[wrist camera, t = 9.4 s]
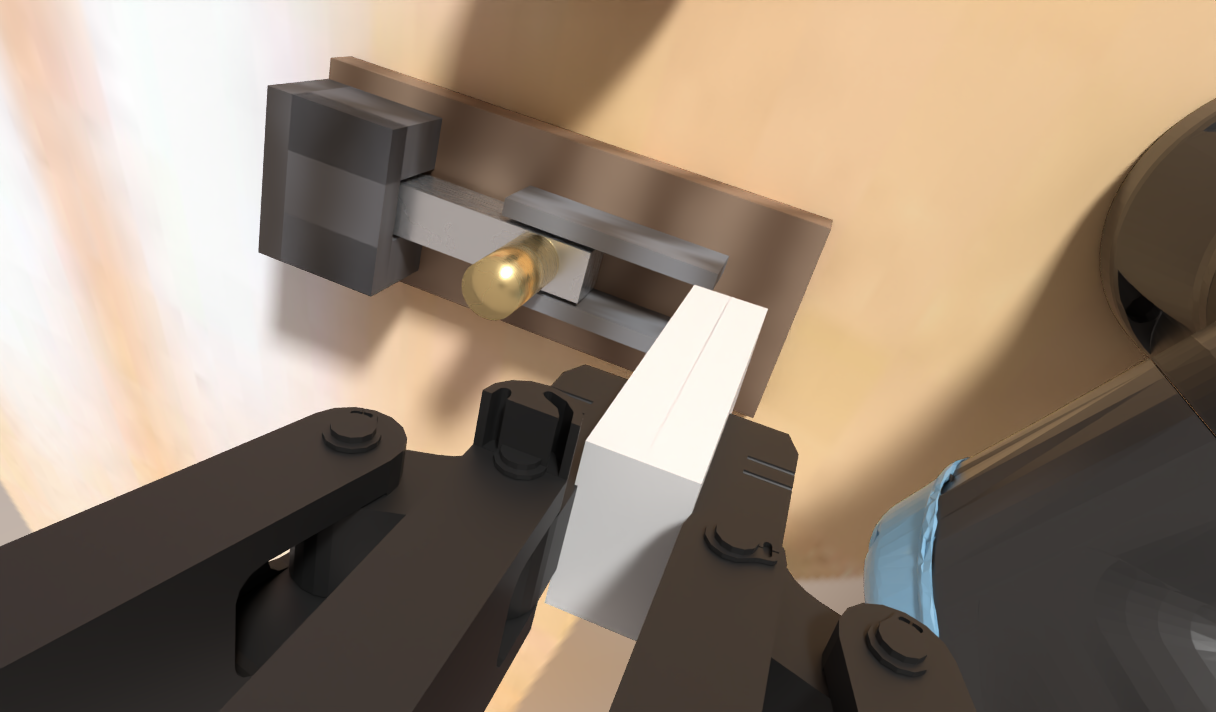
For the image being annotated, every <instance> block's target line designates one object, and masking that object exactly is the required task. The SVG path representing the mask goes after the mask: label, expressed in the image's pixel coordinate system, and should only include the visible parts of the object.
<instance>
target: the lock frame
mask: <svg viewBox="0 0 1216 712" xmlns="http://www.w3.org/2000/svg"><path fill="white" fill-rule="evenodd" d="M421 173H425V174H427V175H430V176H433V177H436V178H439V179H441V180H444V181H447V182H450V183H452V184H455V185H458V186H461V187H464V188H466V189H469V190H472V191H475V192H477V193H480V194H483V195H486V196H488V197H491V198H494V199H497V200H500V201H502V202H504V206H503V211H502V216H505V217H508V218H510V219H513V220H516V221H519V222H521V223H524V224H527V225H530V226H532V227H535V228H538V229H541V230H543V231H546V232H549V233H552V234H554V235H557V236H560V237H563V238H565V239H568V240H571V241H574V242H576V243H579V244H582V245H585V246H587V247H590V248H593V249H596V250H598V251H601V252H604V253H603V257H602V261H601V264H600V268H599V272H598V275H597V279H596V282H595V286H594V288H593V289H592V290H591V291H590V292H589V293H588V294H587V295H586V296H585V297H584V298H582V299H581V300H580V301H579V302H578V303H574V302H572V301H569V300H566V299H564V298H561V297H558V296H556V295H553V294H550V293H548V292H545V291H542V290H540V291H539V292H537V293H536V294H535V295H534V296H532V297H531V298H530V299H529V300H528V301H526V302H525V303H524V304H523V305H521V306H520V307H519V308H518V309H517V310H515V311H514V312H513V313H512V314H510V315H509V316H508V317H506V318H504V319H501V321H504V322H506V323H509V324H511V325H514V326H517V327H519V328H522V329H524V330H527V331H530V332H532V333H535V334H537V335H540V336H542V337H545V338H548V339H550V340H553V341H555V342H558V343H560V344H563V345H566V346H568V347H571V348H573V349H576V350H579V351H581V352H584V353H586V354H589V355H591V356H594V357H597V358H599V359H602V360H604V361H607V362H610V363H612V364H615V365H617V366H620V367H622V368H625V369H628V370H630V371H633V372H634V371H635V369H636V368H637V366H638V365H639V364H640V362H641V361H642V359H643V358H644V356H645V355H646V354H647V352H648V351H649V349H650V348H651V346H652V345H653V344H654V342H655V341H656V339H657V338H658V336H659V335H660V334H661V332H662V331H663V329H664V328H665V326H666V325H667V323H668V322H669V321H670V319H671V318H672V316H673V315H674V313H675V312H676V311H677V309H678V308H679V306H680V305H681V303H682V302H683V301H684V299H685V298H686V296H687V295H688V293H689V292H690V291H691V289H692V288H693V286H694V285H697V286H700V287H703V288H706V289H709V290H712V291H715V292H718V293H721V294H724V295H727V296H730V297H733V298H736V299H739V300H743V301H746V302H749V303H752V304H755V305H758V306H761V307H764V308H767V309H768V310H767V313H766V316H765V319H764V322H763V325H762V328H761V331H760V333H759V336H758V339H757V342H756V345H755V348H754V351H753V354H752V356H751V359H750V362H749V365H748V368H747V371H746V374H745V377H744V380H743V382H742V385H741V388H740V391H739V394H738V397H737V400H736V403H735V406H734V408H733V411H736V412H739V413H741V414H744V415H746V416H749V417H751V418H753V417H754V415H755V412H756V410H757V407H758V405H759V403H760V400H761V398H762V395H763V393H764V390H765V388H766V386H767V383H768V381H769V378H770V376H771V373H772V371H773V369H774V366H775V364H776V361H777V359H778V356H779V354H780V352H781V349H782V347H783V344H784V342H785V339H786V337H787V335H788V332H789V330H790V327H791V325H792V322H793V320H794V318H795V315H796V313H797V310H798V308H799V305H800V303H801V301H802V298H803V296H804V293H805V291H806V288H807V286H808V284H809V281H810V279H811V276H812V274H813V271H814V269H815V267H816V264H817V262H818V259H819V257H820V255H821V252H822V250H823V247H824V245H825V242H826V240H827V238H828V235H829V233H830V230H831V227H832V221H833V220H831V219H828V218H825V217H822V216H819V215H816V214H813V213H810V212H807V211H804V210H801V209H798V208H795V207H792V206H789V205H786V204H784V203H781V202H778V201H775V200H772V199H769V198H766V197H763V196H760V195H757V194H754V193H751V192H748V191H745V190H742V189H739V188H736V187H734V186H731V185H728V184H725V183H722V182H719V181H716V180H713V179H710V178H707V177H704V176H701V175H698V174H695V173H692V172H689V171H686V170H684V169H681V168H678V167H675V166H672V165H669V164H666V163H663V162H660V161H657V160H654V159H651V158H648V157H645V156H642V155H639V154H636V153H634V152H631V151H628V150H625V149H622V148H619V147H616V146H613V145H610V144H607V143H604V142H601V141H598V140H595V139H592V138H589V137H586V136H584V135H581V134H578V133H575V132H572V131H569V130H566V129H563V128H560V127H557V126H554V125H551V124H548V123H545V122H542V121H539V120H537V119H534V118H531V117H528V116H525V115H522V114H519V113H516V112H513V111H510V110H507V109H504V108H501V107H498V106H495V105H492V104H489V103H487V102H484V101H481V100H478V99H475V98H472V97H469V96H466V95H463V94H460V93H457V92H454V91H451V90H448V89H445V88H442V87H439V86H437V85H434V84H431V83H428V82H425V81H422V80H419V79H416V78H413V77H410V76H407V75H404V74H401V73H398V72H395V71H392V70H389V69H387V68H384V67H381V66H378V65H375V64H372V63H369V62H366V61H363V60H360V59H357V58H354V57H351V56H350V57H335V58H331V61H330V72H329V79H323V80H314V81H305V82H295V83H286V84H277V85H268V89H267V107H266V125H265V143H264V161H263V179H262V197H261V215H260V234H259V253H262V254H264V255H267V256H269V257H272V258H274V259H277V260H279V261H282V262H284V263H287V264H290V265H292V266H295V267H297V268H300V269H302V270H305V271H307V272H310V273H312V274H315V275H317V276H320V277H323V278H325V279H328V280H330V281H333V282H335V283H338V284H340V285H343V286H345V287H348V288H351V289H353V290H356V291H358V292H361V293H363V294H366V295H368V296H373V295H375V294H377V293H378V292H380V291H382V290H384V289H386V288H387V287H389V286H391V285H393V284H395V283H396V282H398V281H400V282H403V283H406V284H408V285H411V286H413V287H416V288H419V289H421V290H424V291H426V292H429V293H431V294H434V295H437V296H439V297H442V298H444V299H447V300H449V301H452V302H455V303H457V304H460V305H462V306H465V307H468V308H470V307H469V306H468V305H467V303H466V301H465V299H464V297H463V293H462V278H463V275H464V273H465V271H466V270H467V269H468V268H469V267H470V266H471V265H472V264H471V263H468V262H465V261H463V260H460V259H458V258H455V257H452V256H450V255H447V254H444V253H442V252H439V251H436V250H434V249H431V248H428V247H426V246H423V245H420V244H418V243H415V242H412V241H410V240H407V239H405V238H402V237H399V236H397V235H394V234H393V230H394V223H395V216H396V209H397V202H398V194H399V187H400V180H403V179H406V178H409V177H412V176H415V175H418V174H421ZM470 309H471V308H470Z"/></svg>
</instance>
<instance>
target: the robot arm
mask: <svg viewBox="0 0 1216 712" xmlns="http://www.w3.org/2000/svg"><path fill="white" fill-rule="evenodd" d="M1100 273H1101V279H1102V285H1103V289H1104V292H1105V296H1106V298H1107V301H1108V303H1109V306H1110V308H1111V310H1112V312H1113V314H1114V316H1115V317H1116V319H1117V320H1118V322H1119V324H1120V325H1121V326H1122V328H1123V329H1124V330H1125V332H1126V333H1127V334H1128V335H1129V336H1130V338H1131V339H1132V340H1133V341H1134V343H1135V344H1136V345H1137V346H1138V347H1139V348H1140V349H1141V350H1142V352H1143V353H1144V354H1145V355H1147V356H1148V357H1149V358H1148V359H1146V360H1144V361H1143V362H1141V363H1139V364H1137V365H1136V366H1134V367H1132V368H1130V369H1129V370H1127V371H1125V372H1123V373H1122V374H1120V375H1118V376H1116V377H1115V378H1113V379H1111V380H1109V381H1107V382H1106V383H1104V384H1102V385H1100V386H1099V387H1097V388H1095V389H1093V390H1092V391H1090V392H1088V393H1086V394H1085V395H1083V396H1081V397H1079V398H1078V399H1076V400H1074V401H1072V402H1071V403H1069V404H1067V405H1065V406H1063V407H1062V408H1060V409H1058V410H1056V411H1055V412H1053V413H1051V414H1049V415H1048V416H1046V417H1044V418H1042V419H1041V420H1039V421H1037V422H1035V423H1033V424H1031V425H1030V426H1028V427H1026V428H1024V429H1022V430H1020V431H1019V432H1017V433H1015V434H1013V435H1011V436H1009V437H1007V438H1006V439H1004V440H1002V441H1000V442H998V443H996V444H995V445H993V446H991V447H989V448H987V449H985V450H984V451H982V452H980V453H978V454H976V455H974V456H973V457H971V458H970V457H967V458H964V459H961V460H958V461H955V462H954V463H951V464H950V465H948V466H947V467H946V468H945V469H944V470H943V471H942V472H941V473H940V475H939V476H938V477H937V479H935V480H934V481H932V482H931V483H929V484H928V485H926V486H925V487H923V488H922V489H920V490H918V491H917V492H915V493H913V494H912V495H910V496H909V497H907V498H905V499H904V500H902V501H901V502H899V503H897V504H896V505H895V506H893V507H892V508H891V509H889V510H888V511H887V512H886V513H885V514H884V515H883V516H882V518H881V519H880V520H879V522H878V523H877V525H876V526H875V528H874V530H873V533H872V536H871V539H870V543H869V552H868V553H867V555H866V558H865V564H864V596H865V603H862V604H859V605H855V606H853V607H849V608H847V610H846V611H845V612H844V613H843V615H842V616H841V615H839V614H838V613H836V612H835V611H833V610H832V609H830V608H829V607H827V606H825V605H824V604H822V603H821V602H819V601H818V600H817V599H816V598H814V597H813V596H812V595H810V594H809V593H808V592H806V591H805V590H804V589H803V588H802V587H801V586H800V585H799V584H798V583H797V582H796V581H795V580H794V578H793V577H792V575H791V574H790V572H789V571H788V569H787V568H786V567H787V562H786V555H785V550H784V548H783V547H782V544H783V538H784V532H785V527H786V521H787V516H788V510H789V505H790V499H791V493H792V491H791V490H792V488H793V482H794V477H795V476H794V475H795V471H796V466H797V460H798V452H797V450H796V448H795V446H794V444H793V442H792V440H791V438H790V436H789V434H786V433H783V432H781V431H778V430H775V429H772V428H769V427H767V426H764V425H761V424H758V423H755V422H752V421H750V420H747V419H744V418H741V417H738V416H736V415H733V414H732V411H733V408H734V406H735V403H736V400H737V397H738V394H739V391H740V388H741V385H742V382H743V380H744V377H745V374H746V371H747V368H748V365H749V362H750V359H751V356H752V354H753V351H754V348H755V345H756V342H757V339H758V336H759V333H760V331H761V328H762V325H763V322H764V319H765V316H766V313H767V310H768V309H767V308H764V307H761V306H758V305H755V304H752V303H749V302H746V301H743V300H739V299H736V298H733V297H730V296H727V295H724V294H721V293H718V292H715V291H712V290H709V289H706V288H703V287H700V286H697V285H694V286H693V288H692V289H691V291H690V292H689V293H688V295H687V296H686V298H685V299H684V301H683V302H682V303H681V305H680V306H679V308H678V309H677V311H676V312H675V313H674V315H673V316H672V318H671V319H670V321H669V322H668V323H667V325H666V326H665V328H664V329H663V331H662V332H661V334H660V335H659V336H658V338H657V339H656V341H655V342H654V344H653V345H652V346H651V348H650V349H649V351H648V352H647V354H646V355H645V356H644V358H643V359H642V361H641V362H640V364H639V365H638V366H637V368H636V369H635V371H634V372H633V374H632V375H631V376H630V378H629V379H625V378H622V377H619V376H616V375H614V374H611V373H608V372H605V371H602V370H600V369H597V368H594V367H591V366H588V365H583V366H580V367H577V368H574V369H571V370H569V371H566V372H563V373H562V375H561V376H560V377H559V378H558V379H557V380H556V381H555V382H554V383H553V385H552V386H548V385H544V384H540V383H536V382H532V381H517V380H511V381H505V382H499V383H495V384H493V385H491V386H489V387H487V388H486V389H484V390H483V392H482V397H481V403H480V409H479V415H478V420H477V426H476V432H475V437H474V443H473V445H472V446H471V447H470V448H469V449H468V450H467V451H466V453H465V454H464V455H463V456H444V455H435V454H429V453H423V452H417V451H411V450H406V444H407V437H406V434H405V432H404V429H403V427H402V426H401V425H400V424H399V423H397V422H396V421H395V420H394V419H393V418H392V417H389V416H387V415H384V414H382V413H380V412H377V411H375V410H369V409H364V408H357V407H347V408H333V409H329V410H325V411H322V412H318V413H315V414H313V415H310V416H308V417H305V418H303V419H301V420H298V421H296V422H294V423H291V424H289V425H286V426H284V427H282V428H279V429H277V430H275V431H272V432H270V433H268V434H265V435H263V436H260V437H258V438H256V439H253V440H251V441H249V442H246V443H244V444H242V445H239V446H237V447H234V448H232V449H230V450H227V451H225V452H223V453H220V454H218V455H215V456H213V457H211V458H208V459H206V460H204V461H201V462H199V463H197V464H194V465H192V466H189V467H187V468H185V469H182V470H180V471H178V472H175V473H173V474H171V475H168V476H166V477H163V478H161V479H159V480H156V481H154V482H152V483H149V484H147V485H144V486H142V487H140V488H137V489H135V490H133V491H130V492H128V493H126V494H123V495H121V496H118V497H116V498H114V499H111V500H109V501H107V502H104V503H102V504H99V505H97V506H95V507H92V508H90V509H88V510H85V511H83V512H81V513H78V514H76V515H73V516H71V517H69V518H66V519H64V520H62V521H59V522H57V523H55V524H52V525H50V526H47V527H45V528H43V529H40V530H38V531H36V532H33V533H31V534H28V535H26V536H24V537H21V538H19V539H17V540H14V541H12V542H10V543H7V544H5V545H3V546H0V712H484V711H485V709H486V707H487V706H488V704H489V702H490V700H491V699H492V697H493V695H494V693H495V692H496V690H497V688H498V686H499V684H500V683H501V681H502V679H503V677H504V676H505V674H506V672H507V670H508V669H509V667H510V665H511V663H512V661H513V660H514V658H515V656H516V654H517V653H518V651H519V649H520V647H521V646H522V644H523V642H524V640H525V639H526V637H527V635H528V633H529V631H530V630H531V626H532V622H533V618H534V615H535V610H536V606H537V602H538V600H539V598H540V597H541V595H542V593H543V592H544V590H545V588H546V586H547V585H548V583H549V581H550V584H549V588H548V592H547V596H546V600H545V603H546V604H549V605H551V606H554V607H556V608H558V609H561V610H563V611H566V612H568V613H570V614H573V615H575V616H577V617H580V618H582V619H585V620H587V621H589V622H592V623H594V624H597V625H599V626H601V627H604V628H606V629H609V630H611V631H613V632H616V633H618V634H620V635H623V636H625V637H628V638H630V639H632V640H635V641H637V642H636V644H635V647H634V649H633V652H632V654H631V657H630V659H629V662H628V664H627V667H626V670H625V672H624V675H623V677H622V680H621V682H620V685H619V688H618V690H617V692H616V695H615V698H614V700H613V703H612V705H611V708H610V710H609V712H1216V436H1215V435H1216V98H1215V99H1214V100H1212V101H1210V102H1208V103H1207V104H1205V105H1203V106H1201V107H1200V108H1198V109H1197V110H1195V111H1194V112H1192V113H1190V114H1189V115H1188V116H1186V117H1185V118H1183V119H1182V120H1181V121H1179V122H1178V123H1177V124H1175V125H1174V126H1173V127H1172V128H1171V129H1169V130H1168V131H1167V132H1166V133H1165V134H1163V135H1162V136H1161V137H1160V138H1159V139H1158V140H1157V141H1156V142H1155V143H1154V144H1153V145H1152V146H1151V147H1150V148H1149V149H1148V150H1147V151H1146V152H1145V153H1144V155H1143V156H1142V157H1141V158H1140V159H1139V161H1138V162H1137V163H1136V164H1135V166H1134V167H1133V168H1132V170H1131V171H1130V172H1129V174H1128V175H1127V177H1126V178H1125V180H1124V182H1123V183H1122V185H1121V186H1120V188H1119V190H1118V192H1117V194H1116V196H1115V198H1114V200H1113V202H1112V205H1111V207H1110V209H1109V212H1108V215H1107V218H1106V221H1105V225H1104V228H1103V233H1102V238H1101V245H1100ZM1152 361H1153V362H1154V363H1155V364H1156V365H1155V364H1154V363H1153V362H1152ZM1158 368H1159V369H1158ZM1163 374H1164V375H1165V376H1166V377H1167V378H1168V379H1169V380H1170V381H1171V382H1172V383H1173V385H1174V386H1175V387H1176V388H1177V389H1178V391H1179V392H1180V393H1181V394H1182V395H1183V397H1184V398H1185V399H1186V400H1187V401H1188V403H1189V404H1190V405H1191V406H1192V407H1193V409H1194V410H1195V411H1196V412H1197V413H1198V415H1199V416H1200V417H1201V418H1202V419H1203V421H1204V422H1205V423H1206V424H1207V425H1208V427H1209V428H1210V429H1211V430H1212V431H1213V433H1214V434H1215V435H1214V434H1213V433H1212V432H1211V430H1210V429H1209V428H1208V427H1207V426H1206V424H1205V423H1204V422H1203V421H1202V420H1201V418H1200V417H1199V416H1198V415H1197V414H1196V412H1195V411H1194V410H1193V409H1192V408H1191V407H1190V405H1189V404H1188V403H1187V402H1186V401H1185V399H1184V398H1183V397H1182V396H1181V395H1180V393H1179V392H1178V391H1177V390H1176V389H1175V388H1174V386H1173V385H1172V384H1171V383H1170V382H1169V380H1168V379H1167V378H1166V377H1165V376H1164V375H1163ZM288 549H290V552H289V553H287V554H285V555H284V556H282V557H280V558H278V559H275V560H273V561H270V562H268V561H269V560H271V559H273V558H275V557H276V556H278V555H280V554H282V553H283V552H285V551H287V550H288Z"/></svg>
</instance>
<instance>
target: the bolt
mask: <svg viewBox="0 0 1216 712" xmlns="http://www.w3.org/2000/svg"><path fill="white" fill-rule="evenodd" d="M503 206H504V202H502V201H500V200H497V199H494V198H491V197H488V196H486V195H483V194H480V193H477V192H475V191H472V190H469V189H466V188H464V187H461V186H458V185H455V184H452V183H450V182H447V181H444V180H441V179H439V178H436V177H433V176H430V175H427V174H425V173H421V174H418V175H415V176H412V177H409V178H406V179H403V180H400V187H399V194H398V202H397V209H396V216H395V223H394V230H393V234H394V235H397V236H399V237H402V238H405V239H407V240H410V241H412V242H415V243H418V244H420V245H423V246H426V247H428V248H431V249H434V250H436V251H439V252H442V253H444V254H447V255H450V256H452V257H455V258H458V259H460V260H463V261H465V262H468V263H471V264H472V265H471V266H470V267H469V268H468V269H467V270H466V271H465V273H464V275H463V278H462V293H463V297H464V299H465V301H466V303H467V305H468V306H469V307H470V308H471V310H472V311H473V312H475V313H476V314H477V315H479V316H480V317H483V318H485V319H488V320H501V319H504V318H506V317H508V316H509V315H510V314H512V313H513V312H514V311H515V310H517V309H518V308H519V307H520V306H521V305H523V304H524V303H525V302H526V301H528V300H529V299H530V298H531V297H532V296H534V295H535V294H536V293H537V292H539V291H540V290H542V291H545V292H548V293H550V294H553V295H556V296H558V297H561V298H564V299H566V300H569V301H572V302H574V303H578V302H579V301H580V300H581V299H582V298H584V297H585V296H586V295H587V294H588V293H589V292H590V291H591V290H592V289H593V288H594V286H595V282H596V279H597V275H598V272H599V268H600V264H601V261H602V257H603V253H604V252H601V251H598V250H596V249H593V248H590V247H587V246H585V245H582V244H579V243H576V242H574V241H571V240H568V239H565V238H563V237H560V236H557V235H554V234H552V233H549V232H546V231H543V230H541V229H538V228H535V227H532V226H530V225H527V224H524V223H521V222H519V221H516V220H513V219H510V218H508V217H505V216H502V211H503Z"/></svg>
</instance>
